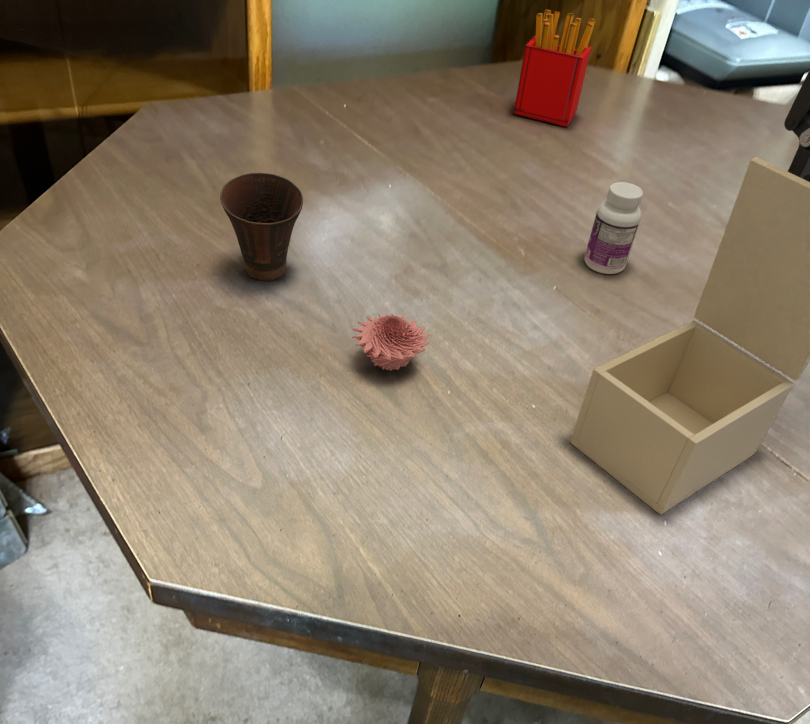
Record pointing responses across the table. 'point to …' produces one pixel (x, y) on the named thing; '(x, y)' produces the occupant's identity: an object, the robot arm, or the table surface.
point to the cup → (262, 220)
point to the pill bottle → (614, 229)
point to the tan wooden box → (677, 413)
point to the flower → (391, 341)
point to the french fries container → (553, 70)
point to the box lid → (764, 270)
